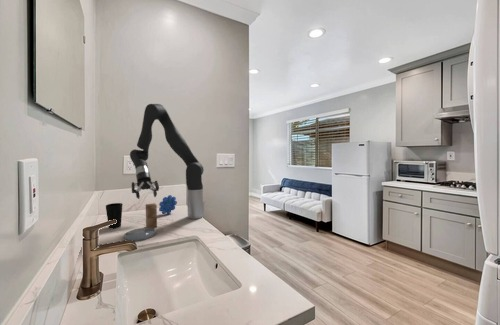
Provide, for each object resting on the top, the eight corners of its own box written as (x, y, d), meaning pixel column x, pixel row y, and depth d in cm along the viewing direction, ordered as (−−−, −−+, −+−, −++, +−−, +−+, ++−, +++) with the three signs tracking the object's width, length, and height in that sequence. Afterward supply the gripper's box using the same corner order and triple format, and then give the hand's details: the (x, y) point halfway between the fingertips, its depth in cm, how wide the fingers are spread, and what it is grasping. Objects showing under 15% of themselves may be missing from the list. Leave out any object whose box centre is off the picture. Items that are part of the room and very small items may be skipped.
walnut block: (155, 225, 123) (154, 203, 122) (157, 227, 119) (156, 204, 118) (146, 226, 120) (145, 204, 120) (147, 229, 116) (147, 206, 116)
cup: (115, 230, 115) (114, 206, 114) (102, 229, 116) (101, 206, 116) (126, 225, 122) (125, 203, 122) (114, 224, 124) (113, 202, 123)
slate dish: (151, 228, 116) (151, 226, 116) (157, 236, 106) (157, 233, 106) (123, 234, 109) (123, 231, 109) (126, 243, 98) (126, 240, 98)
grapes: (174, 210, 151) (174, 193, 151) (178, 212, 146) (178, 194, 145) (156, 214, 144) (156, 195, 143) (160, 216, 138) (160, 197, 138)
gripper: (130, 171, 129) (133, 194, 121) (156, 170, 137) (161, 191, 129) (129, 179, 134) (132, 202, 125) (154, 178, 142) (159, 199, 133)
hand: (147, 197), depth 127 cm, fingers open, 8 cm apart
